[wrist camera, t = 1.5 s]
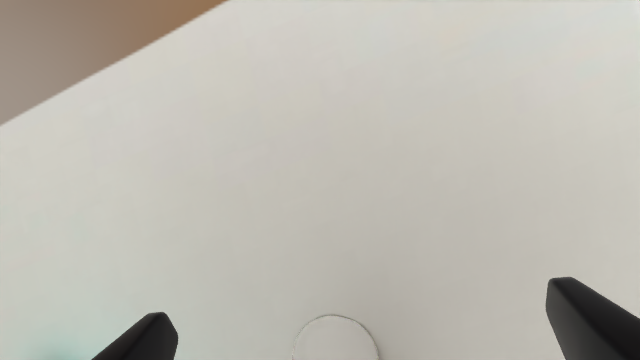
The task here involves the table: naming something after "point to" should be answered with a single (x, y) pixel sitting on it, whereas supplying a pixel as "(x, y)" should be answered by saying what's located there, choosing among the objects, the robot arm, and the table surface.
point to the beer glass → (334, 341)
